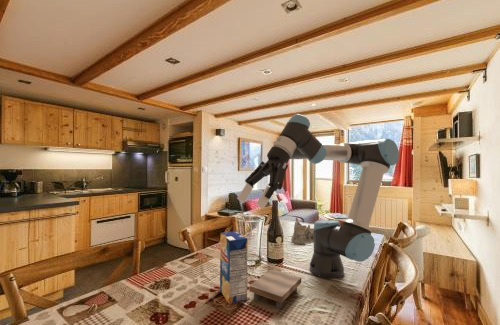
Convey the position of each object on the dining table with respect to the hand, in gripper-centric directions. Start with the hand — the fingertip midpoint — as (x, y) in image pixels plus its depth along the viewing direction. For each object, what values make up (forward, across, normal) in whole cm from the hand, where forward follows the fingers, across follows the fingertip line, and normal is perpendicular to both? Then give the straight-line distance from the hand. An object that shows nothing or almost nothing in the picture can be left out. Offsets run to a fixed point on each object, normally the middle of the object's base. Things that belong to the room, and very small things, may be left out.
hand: (249, 203), depth 78 cm
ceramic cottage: (-11, -54, +77) cm, 95 cm away
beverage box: (+29, -14, +22) cm, 39 cm away
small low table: (+20, -6, +33) cm, 40 cm away
